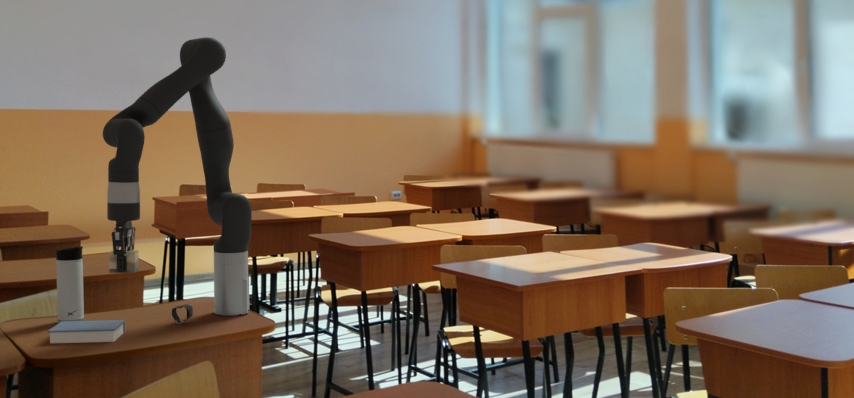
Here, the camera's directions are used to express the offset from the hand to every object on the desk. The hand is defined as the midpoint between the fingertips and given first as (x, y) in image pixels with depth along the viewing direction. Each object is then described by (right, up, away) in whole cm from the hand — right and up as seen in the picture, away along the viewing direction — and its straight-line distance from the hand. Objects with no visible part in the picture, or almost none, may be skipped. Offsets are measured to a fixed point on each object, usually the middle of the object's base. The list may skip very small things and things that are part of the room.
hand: (124, 270), depth 196 cm
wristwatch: (+11, -15, +12) cm, 22 cm away
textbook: (-7, -16, -3) cm, 18 cm away
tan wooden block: (0, 0, 0) cm, 0 cm away
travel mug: (-19, -15, +13) cm, 27 cm away
